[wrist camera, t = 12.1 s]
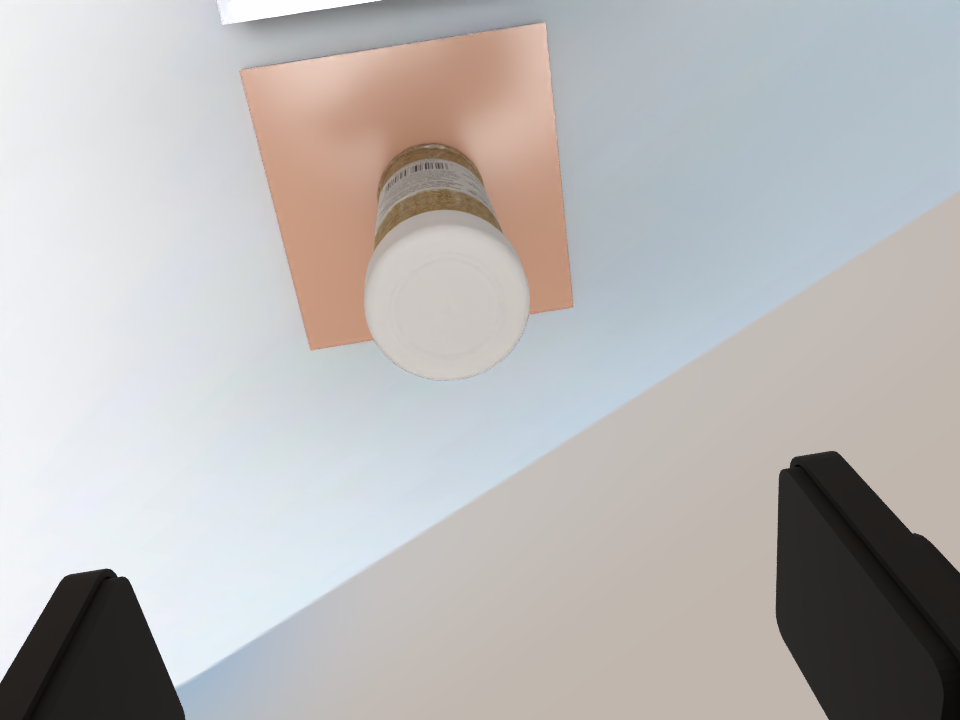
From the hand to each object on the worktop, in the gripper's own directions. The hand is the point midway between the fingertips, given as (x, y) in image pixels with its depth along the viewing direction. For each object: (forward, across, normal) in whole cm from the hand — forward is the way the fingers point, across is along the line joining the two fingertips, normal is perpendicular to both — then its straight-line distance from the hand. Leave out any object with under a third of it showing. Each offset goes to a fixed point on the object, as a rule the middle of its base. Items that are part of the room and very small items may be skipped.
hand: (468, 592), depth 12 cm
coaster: (+25, 0, 0) cm, 25 cm away
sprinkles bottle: (+25, 0, 0) cm, 25 cm away
